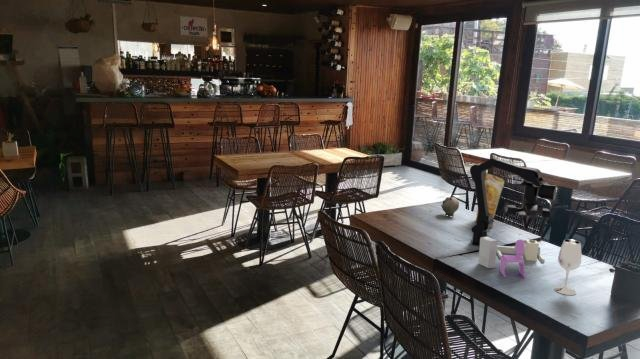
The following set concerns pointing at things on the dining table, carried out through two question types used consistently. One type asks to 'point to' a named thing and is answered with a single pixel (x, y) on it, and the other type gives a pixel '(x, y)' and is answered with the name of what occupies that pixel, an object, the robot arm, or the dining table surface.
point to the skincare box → (487, 252)
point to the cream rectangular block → (531, 250)
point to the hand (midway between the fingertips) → (525, 228)
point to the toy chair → (514, 258)
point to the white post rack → (514, 252)
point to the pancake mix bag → (493, 192)
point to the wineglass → (569, 262)
